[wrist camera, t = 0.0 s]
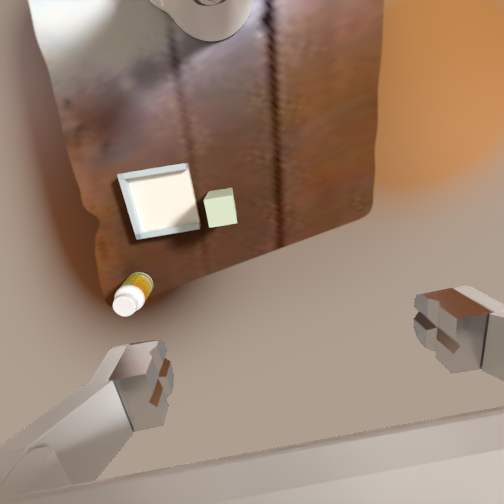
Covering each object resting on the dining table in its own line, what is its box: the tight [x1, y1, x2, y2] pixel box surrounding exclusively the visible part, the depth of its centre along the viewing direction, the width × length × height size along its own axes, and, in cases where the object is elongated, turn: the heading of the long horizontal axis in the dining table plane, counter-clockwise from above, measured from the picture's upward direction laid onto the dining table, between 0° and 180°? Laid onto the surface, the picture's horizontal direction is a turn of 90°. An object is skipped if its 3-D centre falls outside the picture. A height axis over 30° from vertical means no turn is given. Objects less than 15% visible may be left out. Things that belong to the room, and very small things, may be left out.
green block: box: [204, 188, 237, 228], centre depth 50 cm, size 4×4×11 cm
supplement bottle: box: [113, 272, 153, 316], centre depth 55 cm, size 5×5×10 cm
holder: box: [117, 163, 201, 240], centre depth 53 cm, size 12×12×3 cm
